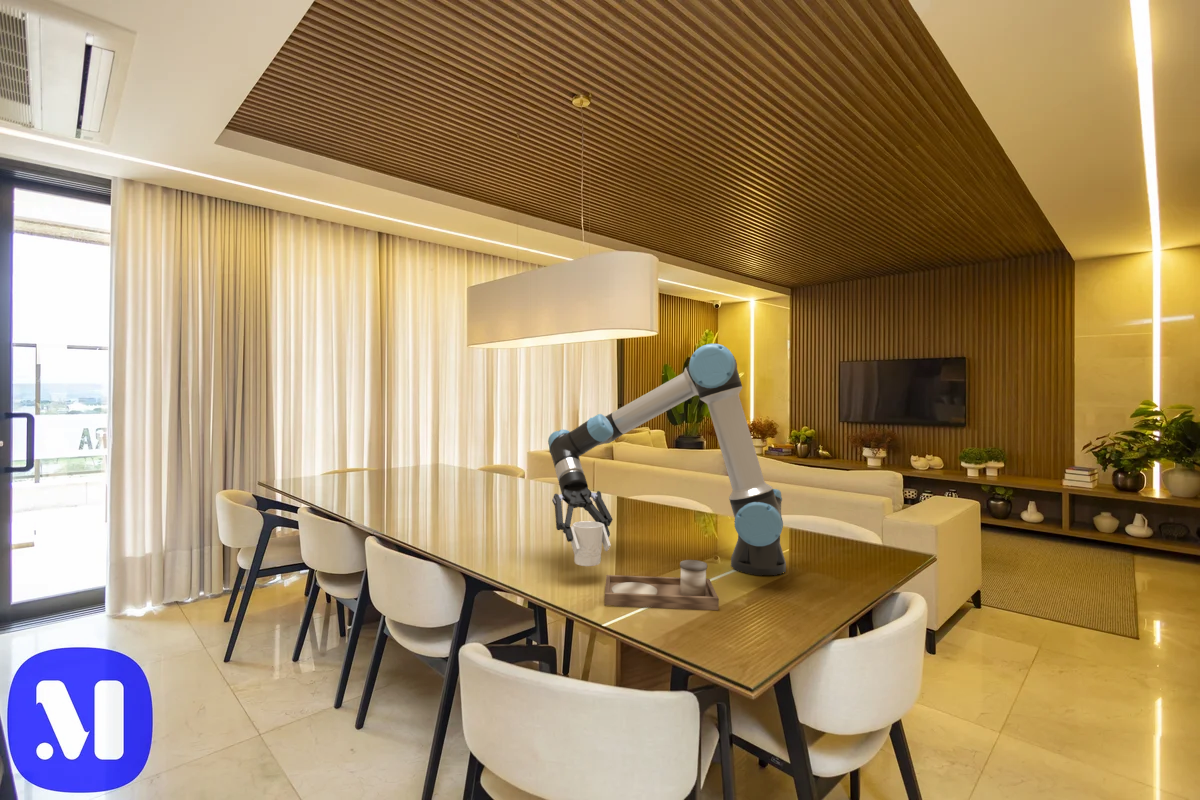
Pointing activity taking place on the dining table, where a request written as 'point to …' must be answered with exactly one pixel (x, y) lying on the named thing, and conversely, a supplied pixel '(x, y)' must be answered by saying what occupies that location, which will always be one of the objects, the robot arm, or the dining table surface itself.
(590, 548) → the white cup
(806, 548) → the dining table surface
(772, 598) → the dining table surface
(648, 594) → the tray
